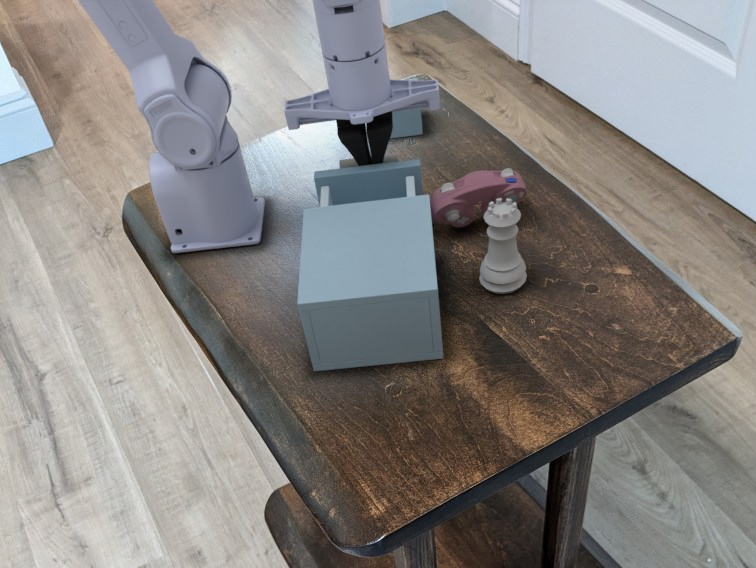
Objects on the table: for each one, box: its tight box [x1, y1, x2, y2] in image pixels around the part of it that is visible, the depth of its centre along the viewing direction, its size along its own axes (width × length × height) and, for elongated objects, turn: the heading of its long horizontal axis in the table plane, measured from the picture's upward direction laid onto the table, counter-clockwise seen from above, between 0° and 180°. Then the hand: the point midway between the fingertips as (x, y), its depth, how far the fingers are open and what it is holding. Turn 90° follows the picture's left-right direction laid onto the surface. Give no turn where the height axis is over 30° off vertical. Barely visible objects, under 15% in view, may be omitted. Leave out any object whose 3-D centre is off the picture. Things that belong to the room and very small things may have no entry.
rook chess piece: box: [478, 198, 528, 295], centre depth 78 cm, size 4×4×8 cm
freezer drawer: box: [313, 152, 424, 207], centre depth 84 cm, size 17×10×6 cm, turn 1°
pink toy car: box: [429, 167, 528, 228], centre depth 85 cm, size 10×5×7 cm, turn 104°
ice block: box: [390, 77, 424, 139], centre depth 99 cm, size 4×4×4 cm
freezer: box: [296, 193, 444, 372], centre depth 77 cm, size 14×12×8 cm
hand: (374, 184), depth 88 cm, fingers closed, pressing on freezer drawer
